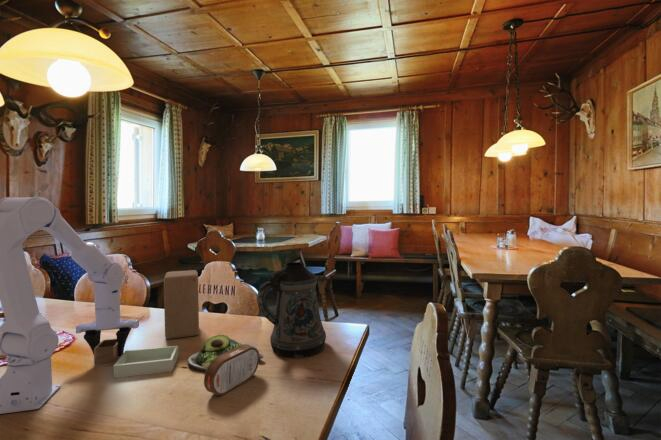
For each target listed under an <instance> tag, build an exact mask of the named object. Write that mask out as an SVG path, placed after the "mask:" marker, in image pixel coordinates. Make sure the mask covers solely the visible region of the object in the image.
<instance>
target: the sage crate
mask: <svg viewBox="0 0 661 440" xmlns="http://www.w3.org/2000/svg"><path fill="white" fill-rule="evenodd" d="M178 358H179V345H168V346H159V347H148V348H147V347H146V348H138V349H127V350H124V353H123V355H122V356H121V357H120V358H119V360H118V361H117V362H116V363H115V365H113V378H114V379H117V378H124V377H125V378H126V377H132V376H133V377H134V376H143V375H150V374H158V373H169V372H173V371H174V368H175V366H176V363H177V362H178Z"/></svg>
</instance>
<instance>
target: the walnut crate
mask: <svg viewBox="0 0 661 440" xmlns="http://www.w3.org/2000/svg"><path fill="white" fill-rule="evenodd" d="M122 355H123V354H122ZM120 357H121V356H118V342H117V338H110V339H108V338H107V339H102V340H100V343H99V344H98V345H97V346H96V347H95V348H94V355H93V361H94V362H93V364H94V365H93V366H94V368H101V367H102V368H103V367H110V366H114V365H115V363H116V362H117V361H118V360H119V358H120Z"/></svg>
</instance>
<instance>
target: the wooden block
mask: <svg viewBox="0 0 661 440" xmlns="http://www.w3.org/2000/svg"><path fill="white" fill-rule="evenodd" d="M198 273H199V272H198V271H197V270H195V269H193V270H192V269H189V270H177V271H175V270H174V271H168V272H166V273H165V275H164V278H163V303H164V304H163V305H164V337H165V339H166V340H171V339H173V340H174V339H179V338H180V339H181V338H187V337H195V336H198V335H199V333H200V313H199V312H200V311H199V274H198Z"/></svg>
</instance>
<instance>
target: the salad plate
mask: <svg viewBox="0 0 661 440" xmlns="http://www.w3.org/2000/svg"><path fill="white" fill-rule="evenodd" d="M244 344H245V343H241V342H239V341H236V340H234V339H233V338H230V337H229V336H228V335H225V334H217V335H214V336H211V337H210V338H208V339H206V340H205V341H204V343H203V345H202V346H203V348H202V349H200V350H199V351H196V353H193V354H192V355H191V356H189V357H188V359H187V365H188V366H189V367H190V368H191V369H193V370H197V371H201V372H206V370H207V368H208V366H209V365H210V363H211V362H212V361H213V360H214V359H215V358H216V357H217V356H219V355H221V354H224V353H226V352H228V351H230V350H233V349H235V348H237V347H239V346H241V345H244ZM248 345H250V346H252V347H254V348H256V349H257V350H258V352H260V351H259V348H258V347H257V346H256V345H254V344H248ZM263 358H264V355H263V354H261V353H259V360H261V359H263Z"/></svg>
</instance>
